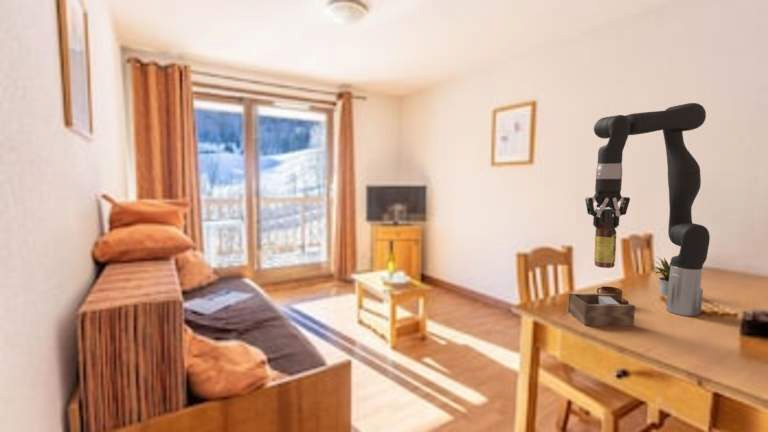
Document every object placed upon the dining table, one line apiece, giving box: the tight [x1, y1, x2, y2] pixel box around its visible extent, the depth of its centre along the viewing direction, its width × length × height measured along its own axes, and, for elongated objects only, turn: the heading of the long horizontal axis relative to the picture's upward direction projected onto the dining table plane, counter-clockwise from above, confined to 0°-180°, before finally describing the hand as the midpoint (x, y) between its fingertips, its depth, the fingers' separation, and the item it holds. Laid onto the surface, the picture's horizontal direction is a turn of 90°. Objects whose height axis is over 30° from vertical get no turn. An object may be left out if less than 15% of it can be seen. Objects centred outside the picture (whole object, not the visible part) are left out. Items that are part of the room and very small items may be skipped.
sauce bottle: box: [593, 207, 617, 269], centre depth 130 cm, size 6×6×20 cm
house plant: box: [649, 256, 671, 296], centre depth 163 cm, size 14×14×16 cm
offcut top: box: [598, 296, 620, 305], centre depth 135 cm, size 4×8×4 cm, turn 171°
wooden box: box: [567, 293, 636, 327], centre depth 135 cm, size 16×12×7 cm
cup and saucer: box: [596, 285, 630, 305], centre depth 150 cm, size 12×12×6 cm
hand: (605, 227), depth 130 cm, fingers closed on sauce bottle, 5 cm apart
